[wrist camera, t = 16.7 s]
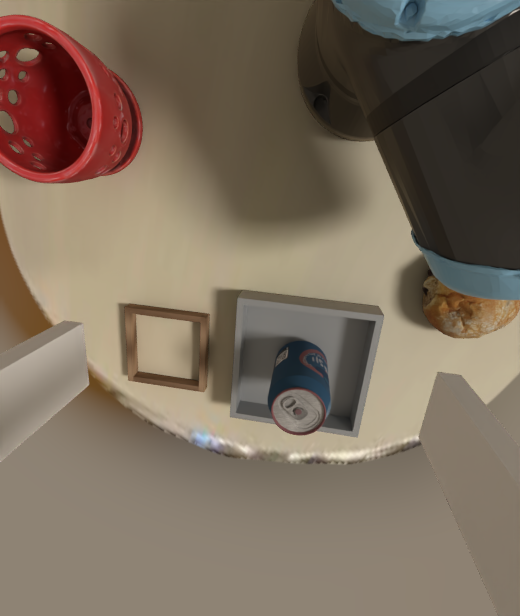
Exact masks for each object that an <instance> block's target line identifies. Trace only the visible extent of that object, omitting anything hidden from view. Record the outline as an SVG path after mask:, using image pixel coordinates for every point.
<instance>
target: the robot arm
mask: <svg viewBox="0 0 520 616" xmlns="http://www.w3.org/2000/svg"><path fill="white" fill-rule="evenodd" d="M298 76H299V83H300V88H301V92H302V95H303V98H304V100H305V103H306V105H307V107H308V109H309V110H310V112H311V113H312V115H313V116H314V118H315V119H316V120H317V121H318V122H319V123H320V124H321V125H322V126H323V127H324V128H326V129H327V130H328V131H330V132H331V133H333V134H335V135H337V136H339V137H342V138H345V139H348V140H353V141H373V140H375V143H376V145H377V147H378V150H379V152H380V154H381V157H382V159H383V161H384V164H385V166H386V169H387V171H388V173H389V176H390V178H391V180H392V183H393V185H394V187H395V190H396V192H397V194H398V197H399V199H400V202H401V204H402V206H403V209H404V211H405V213H406V216H407V218H408V220H409V223H410V225H411V227H412V231H411V235H412V239H413V241H414V243H415V245H416V246H417V247H418V248H419V250H420V251H422V253H423V255H424V257H425V259H426V261H427V263H428V265H429V267H430V269H431V271H432V273H433V275H434V276H435V277H436V278H437V279H438V280H439V281H440V282H441V283H442V284H443V285H445V286H447V287H448V288H449V289H451V290H454V291H456V292H458V293H461V294H464V295H468V296H472V297H477V298H483V299H493V300H520V0H315V1H314V3H313V4H312V6H311V8H310V10H309V12H308V14H307V17H306V19H305V22H304V25H303V28H302V32H301V36H300V41H299V47H298ZM88 385H89V379H88V368H87V358H86V348H85V338H84V327H83V323H79V322H72V321H63V322H61V323H59V324H57V325H55V326H53V327H51V328H50V329H48V330H45V331H44V332H42V333H40V334H38V335H36V336H34V337H32V338H30V339H29V340H26V341H25V342H22V343H21V344H19V345H17V346H15V347H13V348H11V349H9V350H7V351H5V352H3V353H1V354H0V462H1V461H2V460H3V459H4V458H5V457H7V456H8V455H9V454H10V453H11V452H12V451H14V450H15V449H16V448H17V447H18V446H19V445H20V444H22V443H23V442H24V441H25V440H26V439H27V438H28V437H30V436H31V435H32V434H33V433H34V432H35V431H37V430H38V429H39V428H40V427H41V426H42V425H44V424H45V423H46V422H47V421H48V420H49V419H50V418H51V417H53V416H54V415H55V414H56V413H57V412H58V411H60V409H62V408H63V407H64V406H65V405H67V404H68V403H69V402H70V401H71V400H72V399H73V398H75V397H76V396H77V395H78V394H79V393H80V392H81V391H83V390H84V389H85V388H86V387H87V386H88ZM419 439H420V441H421V443H422V446H423V448H424V450H425V452H426V454H427V457H428V459H429V461H430V464H431V466H432V468H433V470H434V473H435V475H436V477H437V479H438V482H439V484H440V486H441V488H442V490H443V493H444V495H445V497H446V500H447V502H448V504H449V506H450V509H451V511H452V513H453V515H454V518H455V520H456V522H457V524H458V527H459V529H460V531H461V533H462V536H463V538H464V540H465V542H466V545H467V547H468V549H469V551H470V554H471V556H472V558H473V560H474V563H475V565H476V567H477V570H478V572H479V574H480V576H481V578H482V581H483V583H484V585H485V588H486V590H487V592H488V594H489V596H490V599H491V601H492V603H493V605H494V608H495V610H496V612H497V615H498V616H520V446H519V445H518V444H517V442H516V441H515V440H514V439H513V438H512V436H511V435H510V434H509V433H508V432H507V430H506V429H505V428H504V427H503V425H502V424H501V423H500V422H499V421H498V419H497V418H496V417H495V416H494V415H493V413H492V412H491V411H490V410H489V408H488V407H487V406H486V405H485V404H484V402H483V401H482V400H481V399H480V398H479V396H478V395H477V394H476V393H475V392H474V390H473V389H472V388H471V387H470V385H469V384H468V383H467V382H466V381H465V379H464V378H463V377H462V376H461V375H457V374H450V373H443V372H437V376H436V379H435V382H434V386H433V389H432V393H431V396H430V400H429V403H428V406H427V410H426V413H425V417H424V420H423V423H422V427H421V430H420V434H419Z"/></svg>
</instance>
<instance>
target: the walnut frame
mask: <svg viewBox="0 0 520 616" xmlns="http://www.w3.org/2000/svg"><path fill="white" fill-rule="evenodd" d="M124 308H125V327H126V346H127V365H128V381H135V382H141V383H148V384H154V385H161V386H167V387H174V388H180V389H186V390H193V391H199V392H204V391H205V389H206V388H207V372H208V344H209V316H210V314H205V313H198V312H190V311H182V310H174V309H167V308H159V307H151V306H144V305H136V304H129V305H127V306H125V307H124ZM136 314H140V315H147V316H155V317H162V318H170V319H177V320H185V321H192V322H200V361H199V381H197V380H191V379H184V378H177V377H171V376H164V375H157V374H151V373H144V372H138V359H137V335H136Z"/></svg>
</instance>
